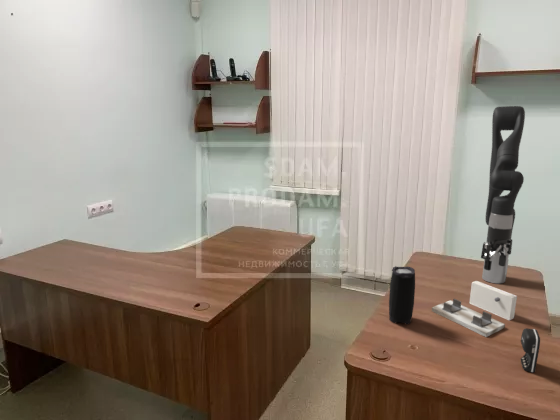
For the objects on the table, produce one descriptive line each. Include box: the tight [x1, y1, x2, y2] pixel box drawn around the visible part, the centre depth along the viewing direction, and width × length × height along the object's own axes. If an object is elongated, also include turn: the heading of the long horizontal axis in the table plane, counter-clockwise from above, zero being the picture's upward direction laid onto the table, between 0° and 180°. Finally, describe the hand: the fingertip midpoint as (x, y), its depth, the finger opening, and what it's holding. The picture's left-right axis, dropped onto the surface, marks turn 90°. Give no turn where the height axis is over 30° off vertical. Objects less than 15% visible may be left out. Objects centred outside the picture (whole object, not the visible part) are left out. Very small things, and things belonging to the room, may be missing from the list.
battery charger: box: [520, 327, 541, 374], centre depth 128 cm, size 7×4×11 cm, turn 160°
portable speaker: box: [388, 265, 416, 325], centre depth 154 cm, size 9×9×20 cm
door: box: [469, 280, 518, 321], centre depth 162 cm, size 4×16×9 cm, turn 33°
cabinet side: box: [431, 298, 506, 338], centre depth 156 cm, size 11×22×4 cm, turn 33°
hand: (494, 267), depth 160 cm, fingers open, 8 cm apart
